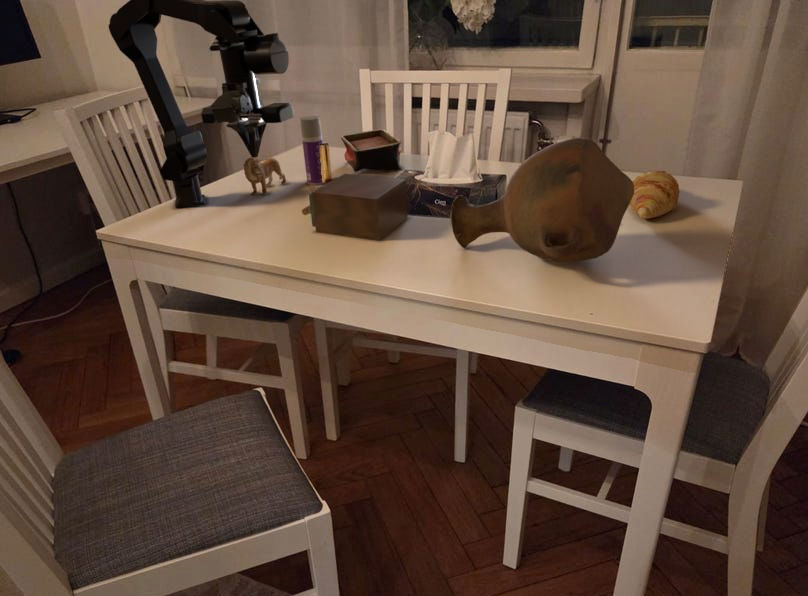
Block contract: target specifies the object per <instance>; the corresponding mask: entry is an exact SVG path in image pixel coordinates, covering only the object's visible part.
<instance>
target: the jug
mask: <svg viewBox="0 0 808 596" xmlns="http://www.w3.org/2000/svg"><path fill="white" fill-rule="evenodd" d="M632 180H633V179H631V178H630V176H628V175H627V174H626V173H624V172H623V171H622V170H621V169H620V168H619V167H618V166H617V165H616V164H615V163H614V162H613V161H612V160H611V159H610V158H609V157H608V156H607V155H606V154H605V152H604V151H603V150H602V148H601V147H600V146H599V145H598V143H596V141H594V140H593V139H590V138H588V137H573V138H568V139H563V140H561V141H558V142H555V143H552V144H550V145H548V146H546V147H544V148H542V149H539V150H538V151H537V152H535V153H533V154H532V155H531V156H529V157H528V158H527V159H525V160H524V161H523V162H522V163H521V164H519V166H518V167H517V168H516V169H515V171H514V172H513V173H512V175H511V177H510V179H509V181H508V183H507V185H506V187H505V190H504V193H503V195H502V196H501V197H499V198H498V199H496V200H494V201H491V202H488V203H485V204H480V205H475V204H472V203H471V202H470V200H469V199H468V197H467V196H465V195H457V196H456V197H455V198H454V199H453V201H452V205H451V210H450V217H449V218H450V219H449V220H450V225H451V230H452V233H453V236H454V238H455V241H456V242H457V243H458V245H459V246H460V247H461V248H463V249H466V248H467V247H468V246H469V245H470V244H471V243H473V242H475V241H476V240H477V239H478V238H481V236H484V235H487V234H492V233H493V234H494V233H506V234H509V236H510V237H511V239H512V241H514V243H515V244H516V245H517V246H518V247H520V248H521V249H522V250H524V251H525V252H527V253H529V254H531V255H532V256H535V257H538V258H540V259H543V260H548V261H554V262H560V263H561V262H562V263H578V262H584V261H585V262H586V261H589V260H593V259H596V258H599V257H601V256H604V255H605V254H607V253H608V252H609V251H610V250H611V249H612V247H613V245H614V244H615V241H616V238H617V236H618V233H619V229H620V226H621V224H622V221H623V218H624V216H625V214H626V212H627V210H628V208H629V206H630V205H629V204H630V201H631V199H632V197H633V194H634V184H633V182H632Z"/></svg>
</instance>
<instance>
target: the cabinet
mask: <svg viewBox="0 0 808 596" xmlns="http://www.w3.org/2000/svg"><path fill="white" fill-rule="evenodd" d="M407 191H408V189H407V179H406V178H399V177H387V176H374V175H366V174H355V173H343V174H341V175H340V176H338V177H336V178H334V179H332V180H331V181H329V182H326V183H324V184H323V185H322V186H320V187H318V188H316V189H315V190H312V191H311V193H312V199H313V208H314V217H315V226H316V227H315V232H316V233H322V234H328V235H329V234H330V235H336V236H344V237H351V238H358V239H365V240H372V241H380V240H382V239H383V238H385V237H386V236H387V235H388V234H389V233H391V232H392V231H393V230H394V229H396V228H397V227H398V226H399V225H401V224H402V223H403V222H404V221H406V220H407V219H408V193H407Z"/></svg>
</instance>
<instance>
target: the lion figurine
mask: <svg viewBox="0 0 808 596" xmlns="http://www.w3.org/2000/svg"><path fill="white" fill-rule="evenodd" d="M260 161H261V160H260V159H258V158H257V157H256V158H253V157H251V156H250V157H248V158H247V159H246V160H245V161H244V164H243V172H244V175H245V179H246V180H247V181H248V182H249V183H250V184H251V188H252V191H251V195H253V196H255V195H257V194H258V189H257V184H261V194H262V195H263V196H265V195H268V189H267V188H269V187H271V186H272V182H273V179H274V178H273V173H275V174H276V175H277V176H278V179H279V180H282V181H281V185H286V184H287V179H286V174H285V173H284V172H283V170H282V168H281V165H280V162H279V160H278V159H276V158H275V157H269V158H266V159H265V160H264V161H262V162H260ZM266 179H268V182H267V181H266Z"/></svg>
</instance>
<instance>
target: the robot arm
mask: <svg viewBox="0 0 808 596" xmlns="http://www.w3.org/2000/svg"><path fill="white" fill-rule="evenodd" d="M162 16H165V17H169V18H173V19H177V20H182V21H185V22H189V23H193V24H196V25H199V26H200V27H201V28H202V29H203V30H204V31H205V32H207V33H209V34H211V35H213V36H215V37H214V41H213V42H212V44H211V45H210V46H209V50H210V52H219V56H220V60H221V63H222V64H221V65H222V71H223V76H224V80H225V82H223V83H221V91H222V94H221V95H219V96H218V97H217V98H216V99H215V100H214V101H213V102H212V103H211V104H210V105H208V106H206V107H203V108H202V110H201V112H200V116H201V122H202V124H216V123H217V124H222V123H227V124H226V125H225V126H226V127H227V128H229V129H232V130H233V131H235V132H236V133H237V134H238V136H239V138H240V139H241V141H242V142H243V144H244V146H245V147H246V149H247V151H248V153H249V155H250V158H251V157H253V158H256V159H257V158H258V157H259V153H260V148H261V144H262V140H263V136H264V133H265V130H266V127H267V124H279V123H280V124H281V123H283V122H285V121H286V122H287V121H288V120H290V119H292V118H295V113H294V108H293V107H292V105H291V104H290V102H273V103H270V104H267V105H265V106H264V100H261V99H259V93H258V86H257V85H260V83H261V82H260V78H259V77H256V76H255V75H258V76H260V75H283V74H285V73H286V72H287V70H288V67H289V63H290V57H289V51H288V50H287V48H286V46H285V44H284V43H283V42H282V41H281V40H280V35H279V33H278V32H272V33H267V34H264V33H263V31H262V30H261V29H260V27H259V26H258V24H257V23H256V21H255V20H254V19H253V17H252V16H251V15H250V13H249V11H248V9H247V7H246V4H245V3H243V2H242V1H241V0H128V1H127V2H126V3H124V4H123V5H122V6H120V7H119V8H118V9H117V11H116V12H115V13H113V14H111V16H110V17H109V24H108V30H109V33H110V35H111V37H112V39H113V41H114V42H115V44H116V46H117V48H118V50H119V51H120V52H121V53H122V54H123V55H124V56H125V57H126V58H127V59H128V60H130V61H131V62H132V63H133V66H134V68H135V69H136V72H137V74H138V76H139V79H140V81H141V83H142V86H143V88H144V90H145V92H146V95H147V97H148V99H149V101H150V104H151V106H152V108H153V111H154V113H155V115H156V117H157V119H158V122H159V125H160V126H161V129H162V131H163V144H162V145H163V146H162V147H163V151H164V154H165V158H166V159H165V161H164V163H163V164H162V166H161V168H160V169H159V173H160V175H161V177H162V179H163V180H164V181H170V182H172V185H173V189H174V190H173V191H174V194H175V202H174V208H176V209H178V208H186V207H187V208H188V207H194V206H203V205H205V204H206V196H205V194H202V189H201V185H200V179H199V175H198V174H200V173H204V172H205V170H206V161H207V159H208V153H207V149H208V146H207V145H206V144H205V142H204V141H203V136H202V134H201V132H200V131H199V130H194V131H193V130H192V129H191V128H190V127H189V126H188V125H187V123H186V121H185V119H184V116H183V114H182V112H181V110H180V107H179V105H178V103H177V100H176V98H175V95H174V92H173V91H172V88H171V86H170V83H169V81H168V79H167V77H166V74H165V71H164V69H163V68H162V64H161V63H160V60H159V58H158V36H157V33H156V28H157V27H158V26H159V24H160V23H161V22H162V21H161V20H162Z"/></svg>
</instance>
